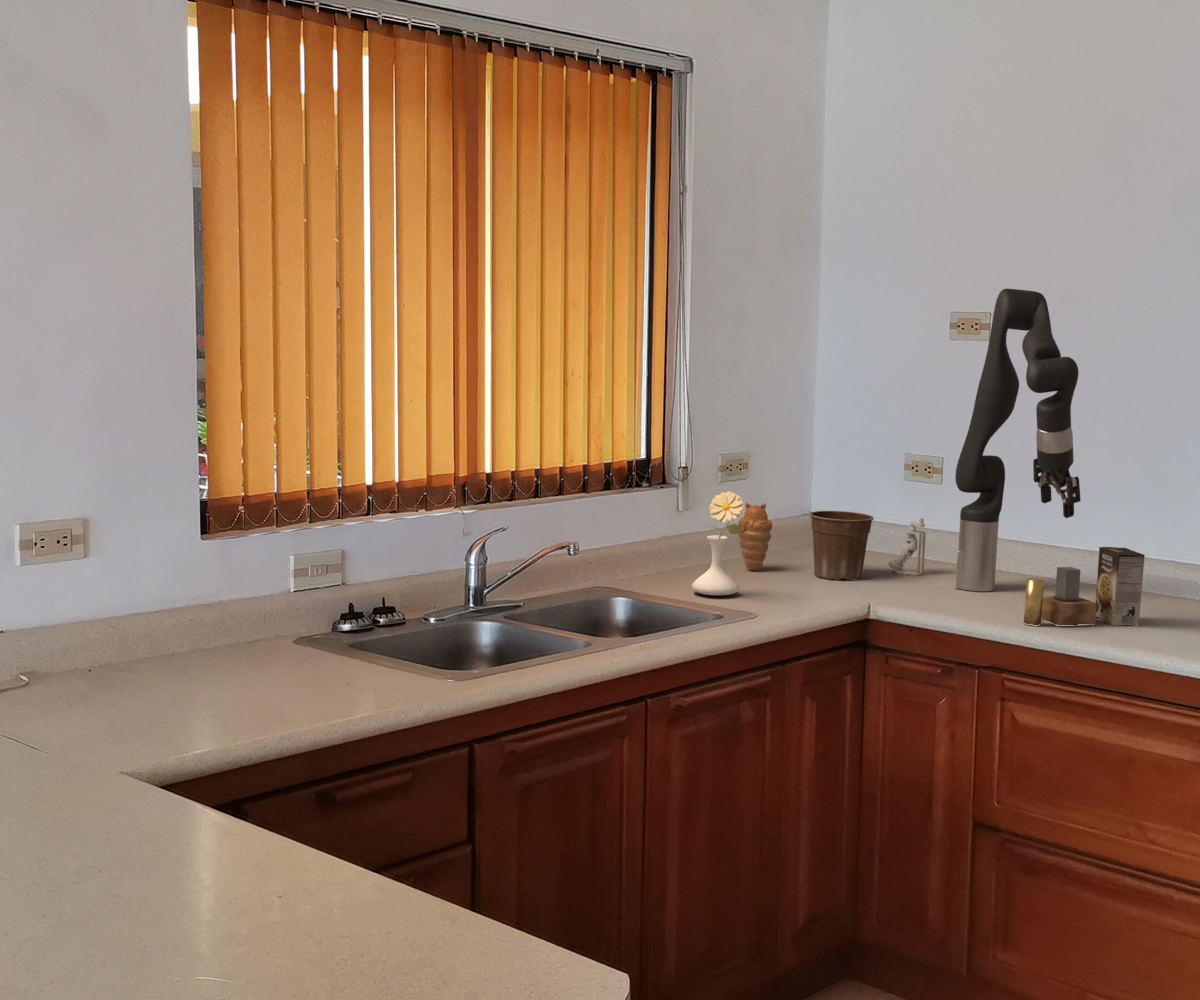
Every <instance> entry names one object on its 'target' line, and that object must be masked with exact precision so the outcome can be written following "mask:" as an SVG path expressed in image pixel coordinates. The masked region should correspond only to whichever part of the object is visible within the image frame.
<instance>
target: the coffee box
mask: <svg viewBox="0 0 1200 1000" xmlns="http://www.w3.org/2000/svg"><path fill="white" fill-rule="evenodd" d="M1098 549H1099V550H1098V551H1099V552H1098V563H1097V564H1098V566H1097V578H1096V579H1097V580H1096V593H1095V603H1097V607H1096V617H1098V618H1100V619H1102V620H1104V621H1106V622H1108V623H1110V624H1112V625H1111V626H1113V625H1140V612H1141V601H1142V591H1143V590H1142V589H1143V580H1144V579H1143V578H1144V567H1145V557H1146V555H1145V554H1144V553H1141V552H1138V551H1135V550H1132V549H1130V548H1127V547H1115V546H1113V547H1112V546H1099V547H1098ZM1098 618H1097V619H1098ZM1100 619H1099V620H1100ZM1102 620H1101V621H1102ZM1104 621H1103V622H1104ZM1106 622H1105V623H1106ZM1108 623H1107V624H1108ZM1110 624H1109V625H1110Z"/></svg>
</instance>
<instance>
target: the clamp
mask: <svg viewBox="0 0 1200 1000" xmlns="http://www.w3.org/2000/svg"><path fill="white" fill-rule="evenodd" d="M925 525H926V524H925V523H924V518H923V517H922V518H919V519H918V522H916V521H910V522H909V529H902V530H901V533H902V534H907V538H906V545H905V546H904V548H902V551H901V552H900V553H901V554H899V555H898V556H897V557H896V559H894V560H893V561H891V560H890V561H888V563H887V565H888V566H889V568H890V569H892V570H893V572H895V573H896V572H899V573H908V574H914V575H917V576H919V575H922V574H924V571H925V569H924V568H925V555H926V553H925V551H926V536H927V535H926V534H927V533H926V531H922V530H917V527H919V528H924V527H925ZM915 551H917V552H916V555H917V556H916V571H915V570H907V569H903V568H904V566H905V565H904V564H905V563H906V562H907V561H906V560H909V558H911V557H912V556H913V555H914V553H915ZM908 557H909V558H908ZM899 573H898V574H899ZM920 573H921V574H920ZM914 575H913V576H914Z"/></svg>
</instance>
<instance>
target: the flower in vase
mask: <svg viewBox="0 0 1200 1000" xmlns="http://www.w3.org/2000/svg"><path fill="white" fill-rule="evenodd" d="M743 504H744V501H743V497H741V496H740V495H739V494H736V493H735V492H731V491H730V490H729V491H726V492H724V491H723V492H721V493H720V494H715V496H714V498H713V499H711V503H710V504H709V507H708V509H709V513H710V514H711V515H710V517H711V518H712V519H713V520H715V521H717V522H719V523H722V524H725V523H726V526H725V527H724V529H723V530H722V531H721V530H720V529H719V528H718V527H717V526H715V525H713V524H711V523H710V522H709V521H707V523H708V524H709V525H710V526H711V527H712V528H714V529H716V530H717V531H719V532H721V533H720V534H719V535H708V536H706V539H707V540H708V542H709V544H710V547H711V548H710V549H711V565H710V567H709V569H708V570H707V571H706V572H704V573H703V574H701V575H700V576H699V577H698V578H696V579H695V580H694V581H693V582H692V585H691V588H692V590H693V591H694V592H696V593H698V594H702V595H706V596H716V597H717V596H718V597H719V596H720V597H722V596H731V595H734V594H736V593H738V592H739V591H740V585H739V584H738V582H737V581H736V580H735V579H734V578H733V577H732V576H730V575H729V574H728V573H727V572H726V571H725V570H724V568H723V566H722V555H723V554H722V553H723V550H724V549H723V548H724V544H725V543H726V542H727V540H728V539H729V538H728V536H725V535H723V534H724V532H725V531H726V530H727V531H728V533H729V534H730V535H736V534H737V535H738V533H743V532H742V530H741V529H740V527H739V525H738V523H732V524H730V522H731V521H732V522H733V521H735V520H737V519H738V518H739V517H740V515H741V514H742V512H743V510H744V508H745V505H743Z"/></svg>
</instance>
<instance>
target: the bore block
mask: <svg viewBox="0 0 1200 1000" xmlns="http://www.w3.org/2000/svg"><path fill="white" fill-rule="evenodd" d="M1096 607H1097V603H1096V601H1092V600H1089V599H1085V598H1083V597H1079V599H1078V602H1062V601H1059V600H1056V599H1055V595H1043V604H1042V617H1041V619H1043V620H1046V621H1049V622H1052V623H1054V624H1057V625H1078V624H1095V625H1096V622H1097V621H1096V619H1097V618H1096Z"/></svg>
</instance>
